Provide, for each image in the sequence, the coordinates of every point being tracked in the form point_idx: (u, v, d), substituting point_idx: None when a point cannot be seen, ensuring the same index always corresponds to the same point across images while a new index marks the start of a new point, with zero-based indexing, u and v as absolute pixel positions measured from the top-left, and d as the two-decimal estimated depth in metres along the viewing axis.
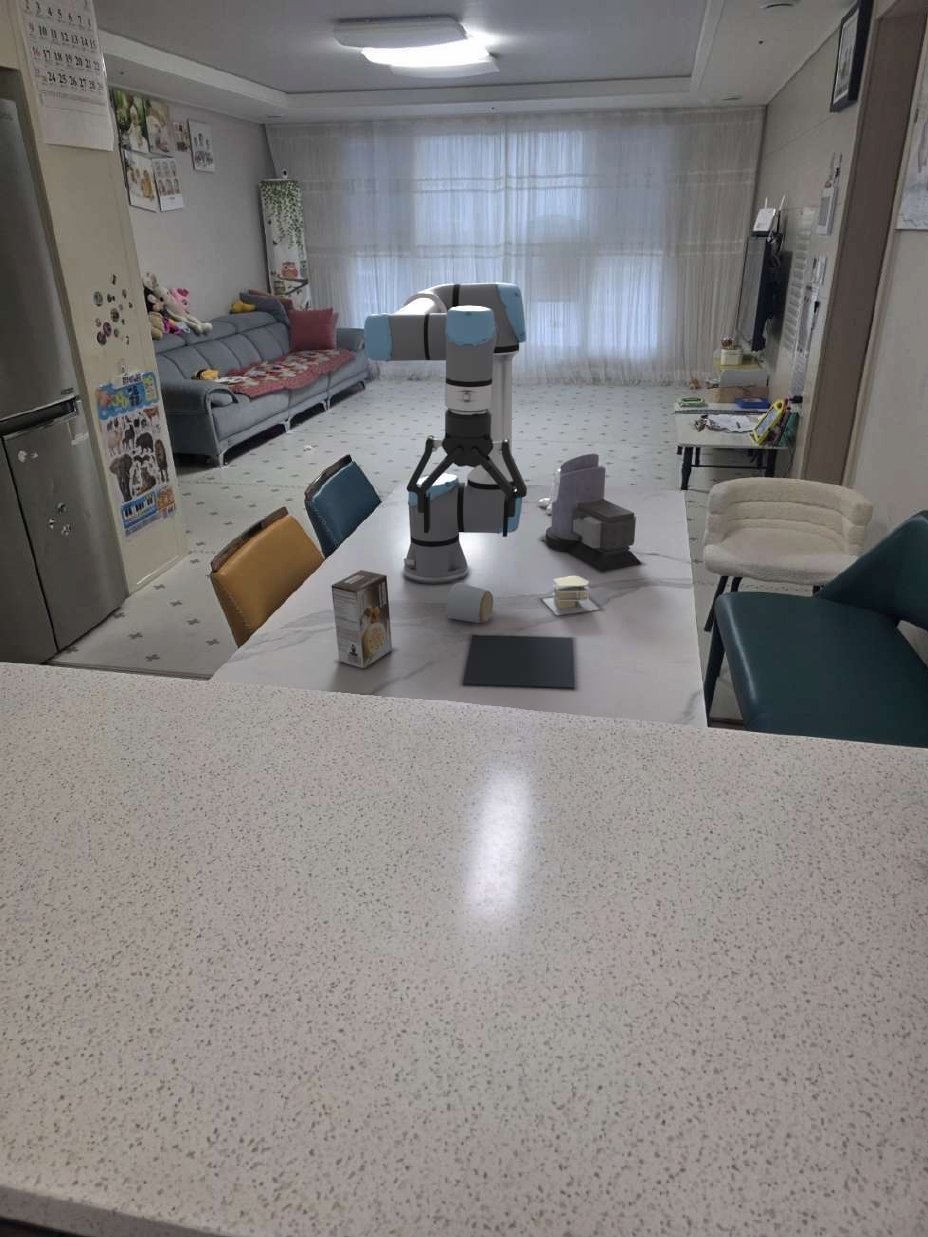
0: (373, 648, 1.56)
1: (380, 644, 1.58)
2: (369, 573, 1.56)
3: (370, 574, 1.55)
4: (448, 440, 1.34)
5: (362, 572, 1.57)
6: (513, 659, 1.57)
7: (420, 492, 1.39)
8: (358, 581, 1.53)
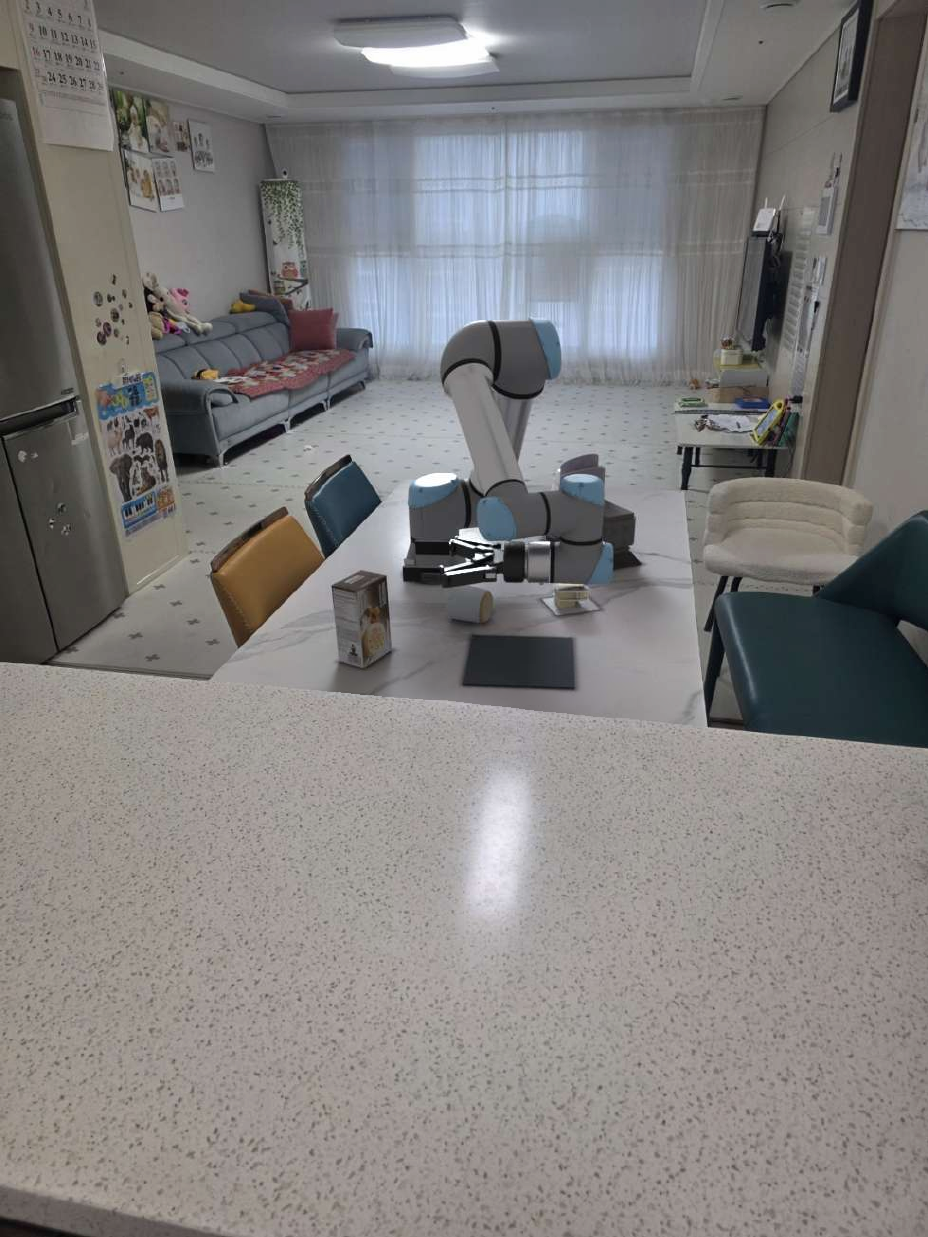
0: (373, 648, 1.56)
1: (380, 644, 1.58)
2: (369, 573, 1.56)
3: (370, 574, 1.55)
4: None
5: (362, 572, 1.57)
6: (513, 659, 1.57)
7: None
8: (358, 581, 1.53)
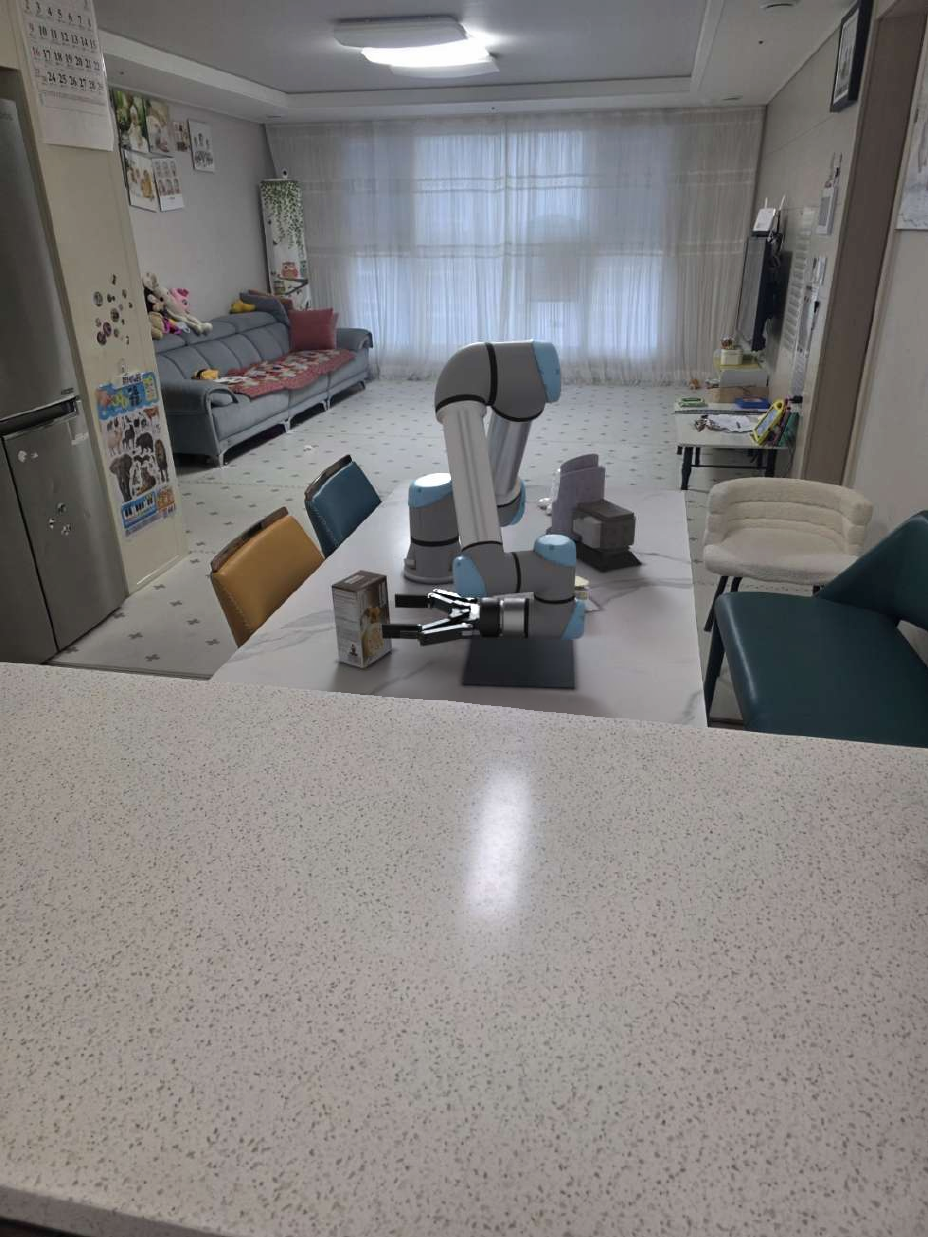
0: (373, 648, 1.56)
1: (380, 644, 1.58)
2: (369, 573, 1.56)
3: (370, 574, 1.55)
4: None
5: (362, 572, 1.57)
6: (513, 659, 1.57)
7: None
8: (358, 581, 1.53)
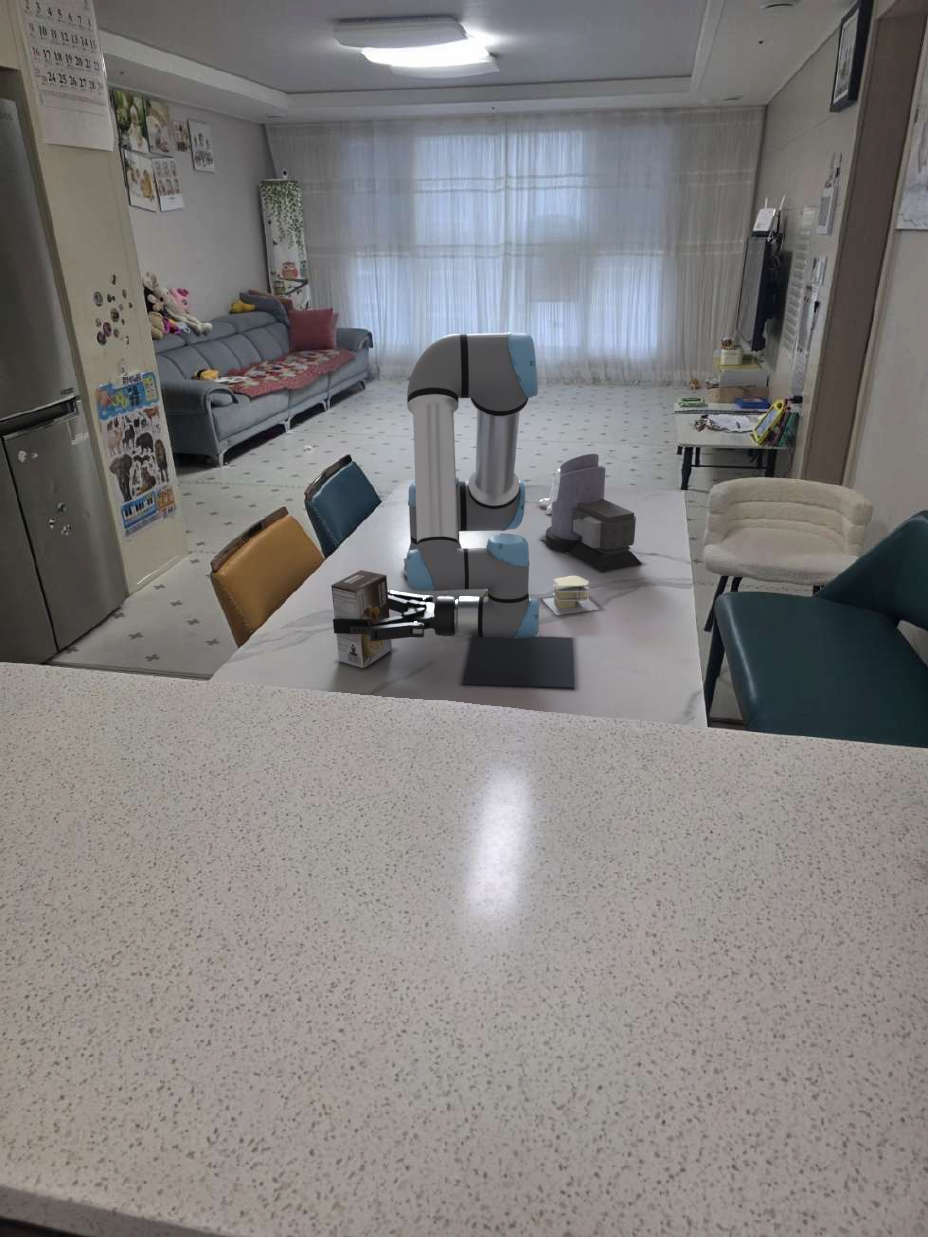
0: (373, 648, 1.56)
1: (380, 644, 1.58)
2: (369, 573, 1.56)
3: (370, 574, 1.55)
4: None
5: (362, 572, 1.57)
6: (513, 659, 1.57)
7: None
8: (358, 580, 1.53)
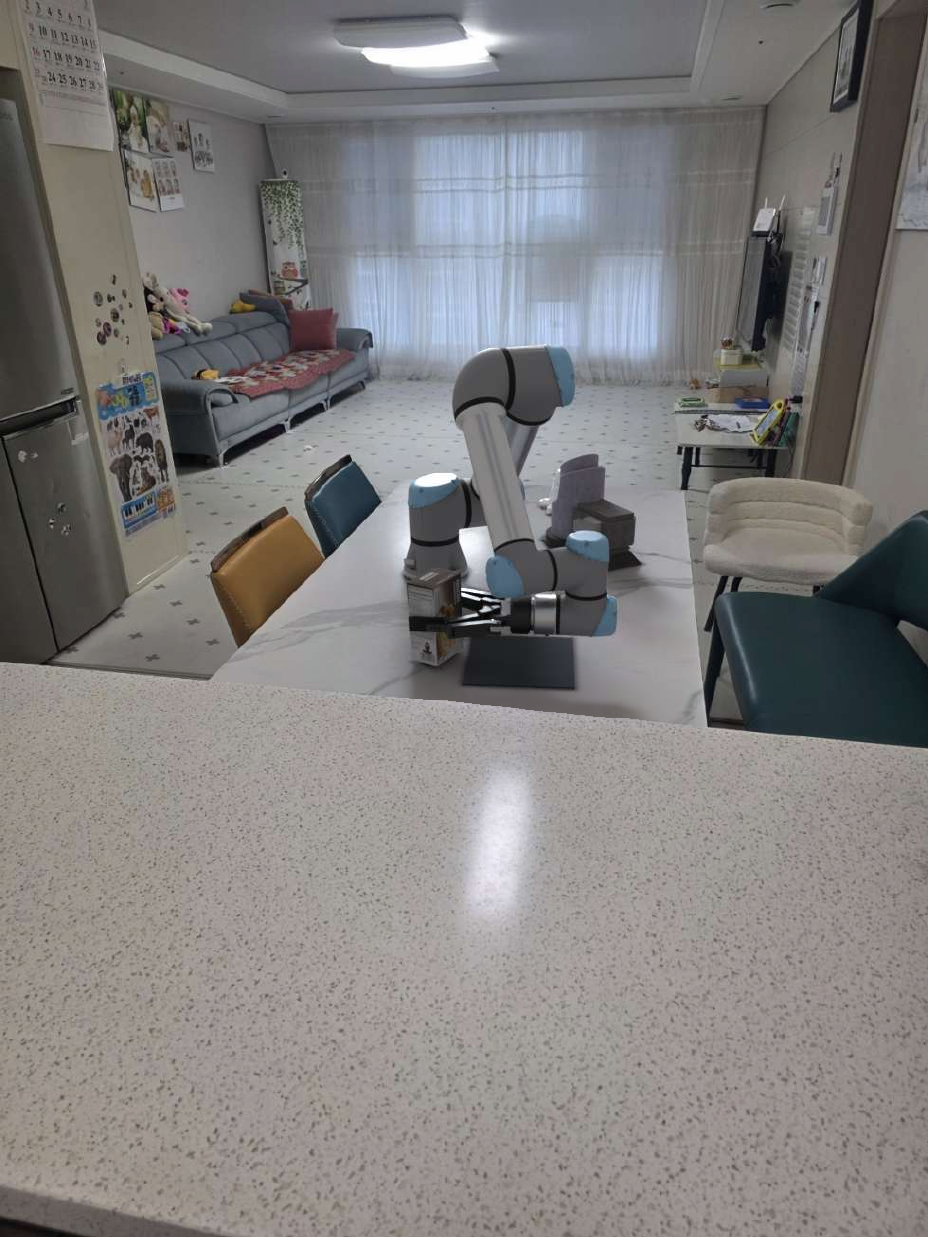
0: (446, 646, 1.55)
1: (453, 642, 1.56)
2: (443, 570, 1.54)
3: (444, 571, 1.54)
4: None
5: (436, 569, 1.55)
6: (513, 659, 1.57)
7: None
8: (433, 578, 1.51)
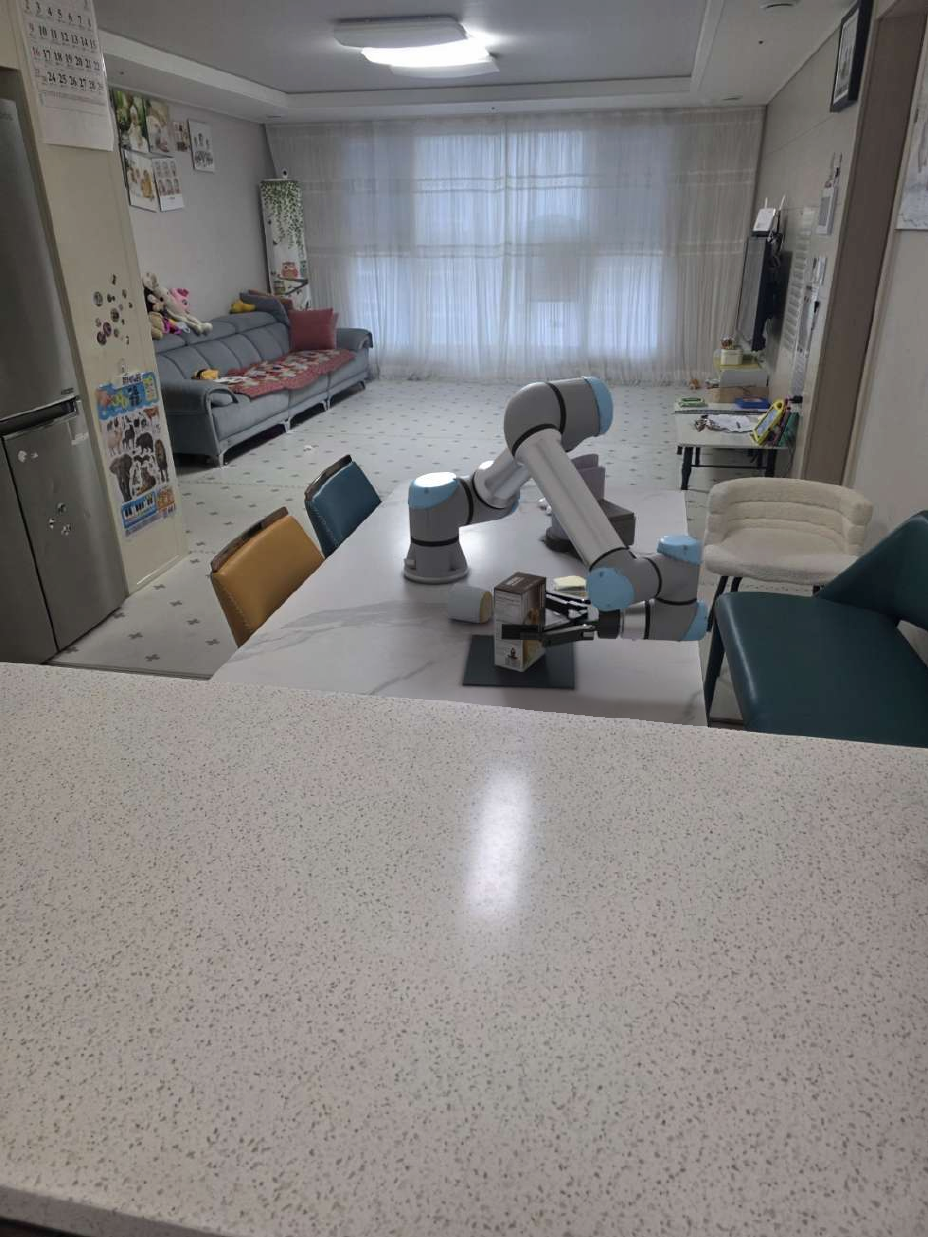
0: (531, 652, 1.53)
1: (537, 647, 1.55)
2: (527, 575, 1.53)
3: (530, 576, 1.52)
4: None
5: (520, 574, 1.54)
6: None
7: None
8: (520, 583, 1.50)
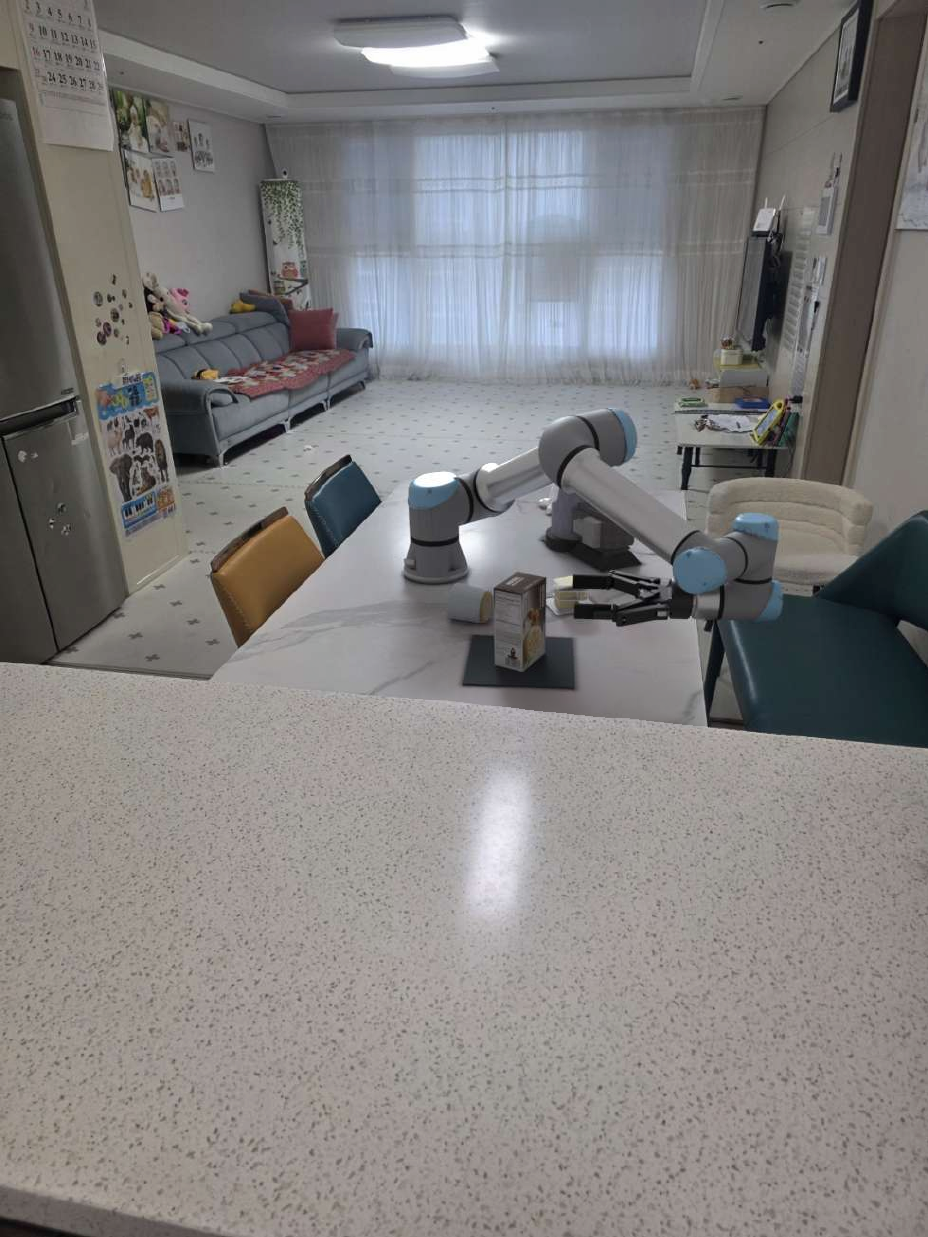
0: (531, 652, 1.53)
1: (537, 647, 1.55)
2: (527, 575, 1.53)
3: (530, 576, 1.52)
4: None
5: (520, 574, 1.54)
6: None
7: (615, 621, 1.44)
8: (520, 583, 1.50)
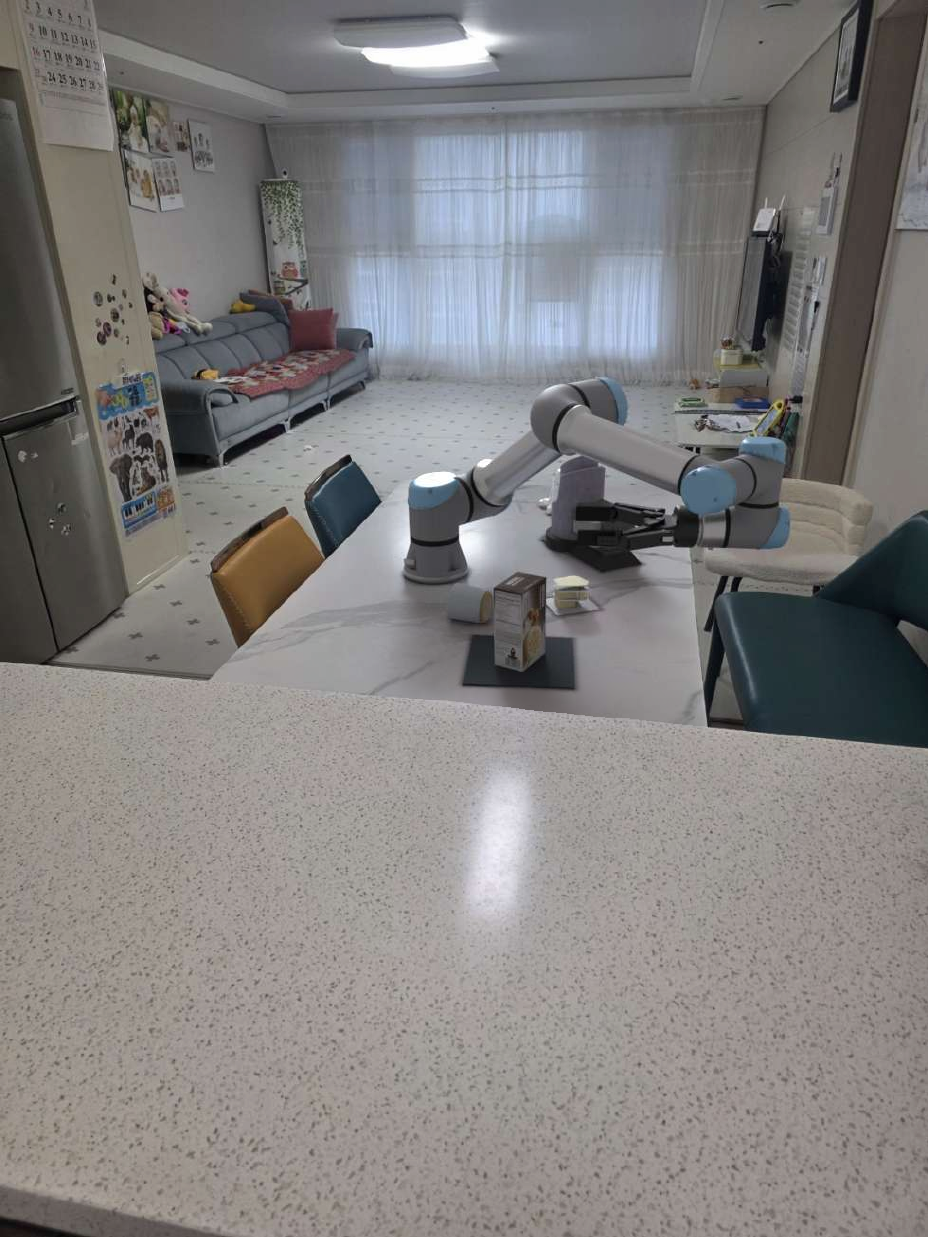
0: (531, 652, 1.53)
1: (537, 647, 1.55)
2: (527, 575, 1.53)
3: (530, 576, 1.52)
4: None
5: (520, 574, 1.54)
6: None
7: (619, 547, 1.42)
8: (520, 583, 1.50)
